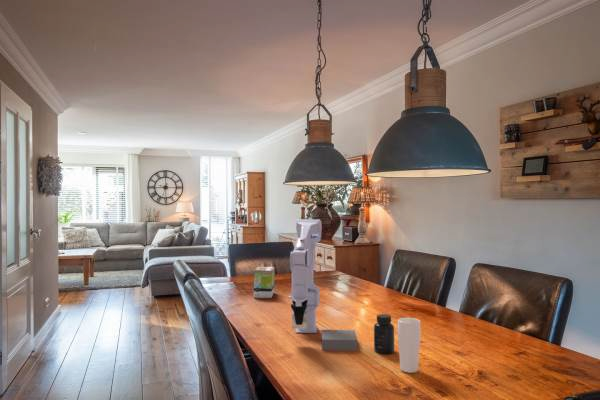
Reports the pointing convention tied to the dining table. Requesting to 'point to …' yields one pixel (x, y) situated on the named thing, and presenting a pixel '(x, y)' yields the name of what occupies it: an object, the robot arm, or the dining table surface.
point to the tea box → (264, 282)
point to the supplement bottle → (384, 335)
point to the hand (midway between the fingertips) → (299, 322)
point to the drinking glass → (409, 343)
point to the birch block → (302, 323)
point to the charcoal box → (339, 340)
